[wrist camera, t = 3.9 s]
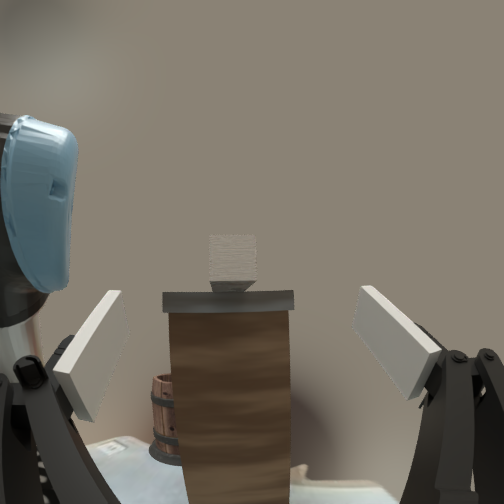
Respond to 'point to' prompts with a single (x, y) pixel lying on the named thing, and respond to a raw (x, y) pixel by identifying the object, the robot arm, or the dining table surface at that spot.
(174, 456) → the tankard
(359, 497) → the dining table surface
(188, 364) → the column
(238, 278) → the bar
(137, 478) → the dining table surface
